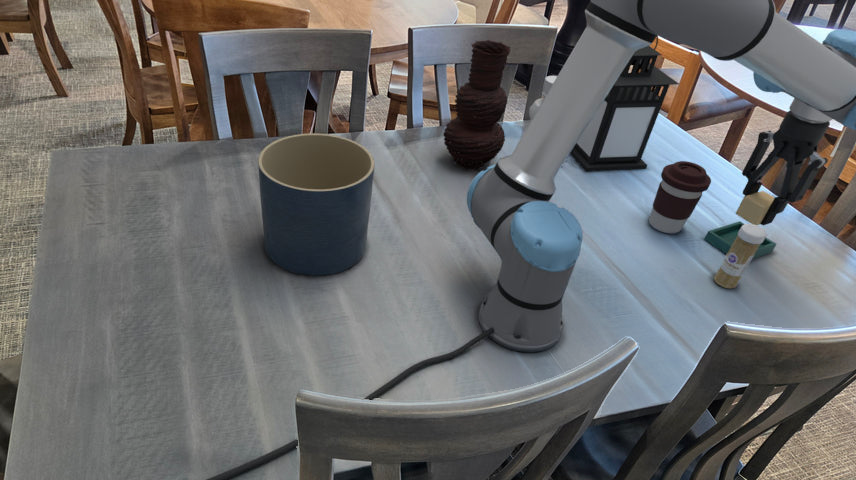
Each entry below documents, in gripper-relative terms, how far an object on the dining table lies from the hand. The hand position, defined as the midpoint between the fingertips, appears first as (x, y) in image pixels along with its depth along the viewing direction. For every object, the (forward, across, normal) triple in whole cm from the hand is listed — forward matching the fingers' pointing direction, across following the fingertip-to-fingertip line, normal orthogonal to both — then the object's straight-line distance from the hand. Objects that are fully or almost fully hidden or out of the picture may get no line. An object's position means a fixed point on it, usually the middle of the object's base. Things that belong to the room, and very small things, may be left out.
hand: (754, 216), depth 136 cm
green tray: (+8, 0, 0) cm, 8 cm away
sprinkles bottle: (+8, -8, +14) cm, 18 cm away
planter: (+8, +36, +88) cm, 95 cm away
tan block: (0, 0, 0) cm, 0 cm away
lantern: (+8, +45, 0) cm, 45 cm away
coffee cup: (+8, +12, +10) cm, 18 cm away
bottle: (+8, +33, +34) cm, 48 cm away
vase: (+8, +54, +36) cm, 66 cm away
